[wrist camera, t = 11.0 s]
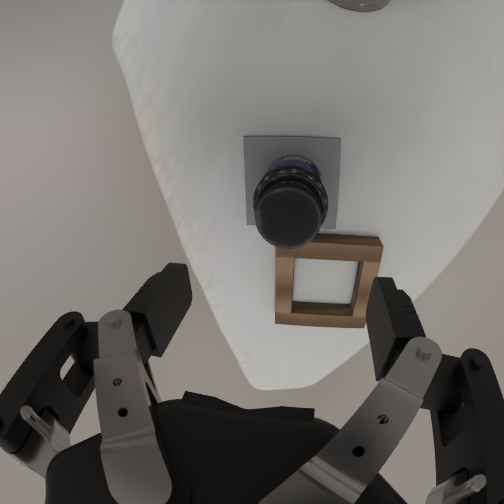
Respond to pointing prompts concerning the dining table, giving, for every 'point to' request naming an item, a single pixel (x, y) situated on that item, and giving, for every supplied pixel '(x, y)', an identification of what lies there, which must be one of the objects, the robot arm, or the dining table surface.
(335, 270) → the dining table surface
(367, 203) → the dining table surface
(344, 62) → the dining table surface
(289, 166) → the pill bottle
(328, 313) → the walnut holder
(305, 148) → the grey pad
